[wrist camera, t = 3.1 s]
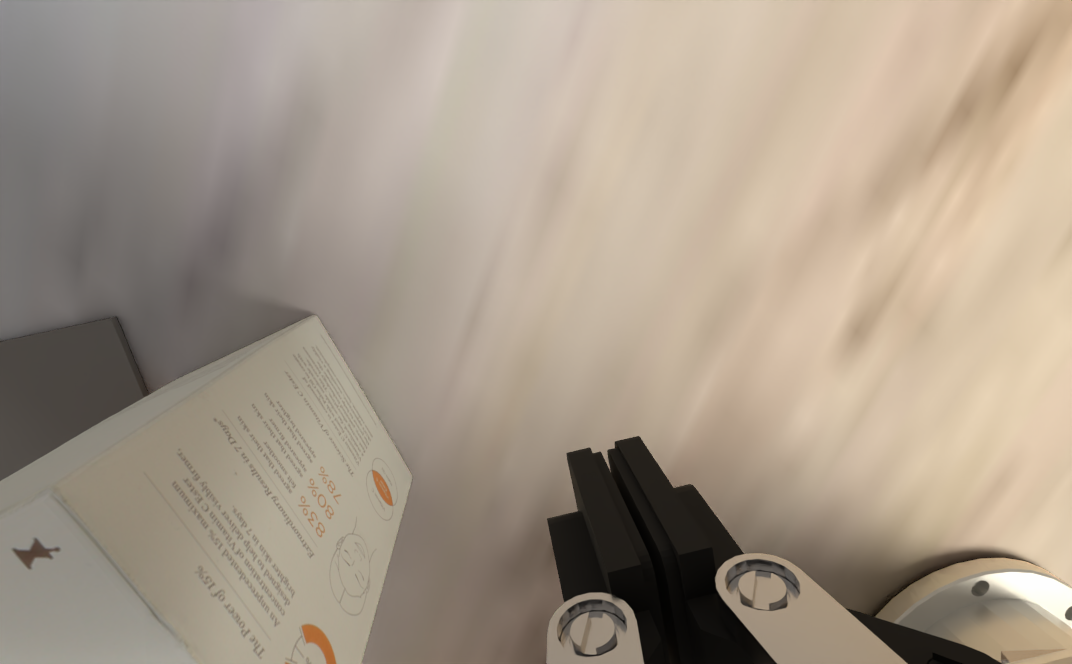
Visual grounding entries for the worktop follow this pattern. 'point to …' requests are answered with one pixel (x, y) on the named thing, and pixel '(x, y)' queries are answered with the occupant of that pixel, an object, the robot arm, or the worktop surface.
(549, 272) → the worktop surface
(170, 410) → the small box
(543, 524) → the worktop surface
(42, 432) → the mat
